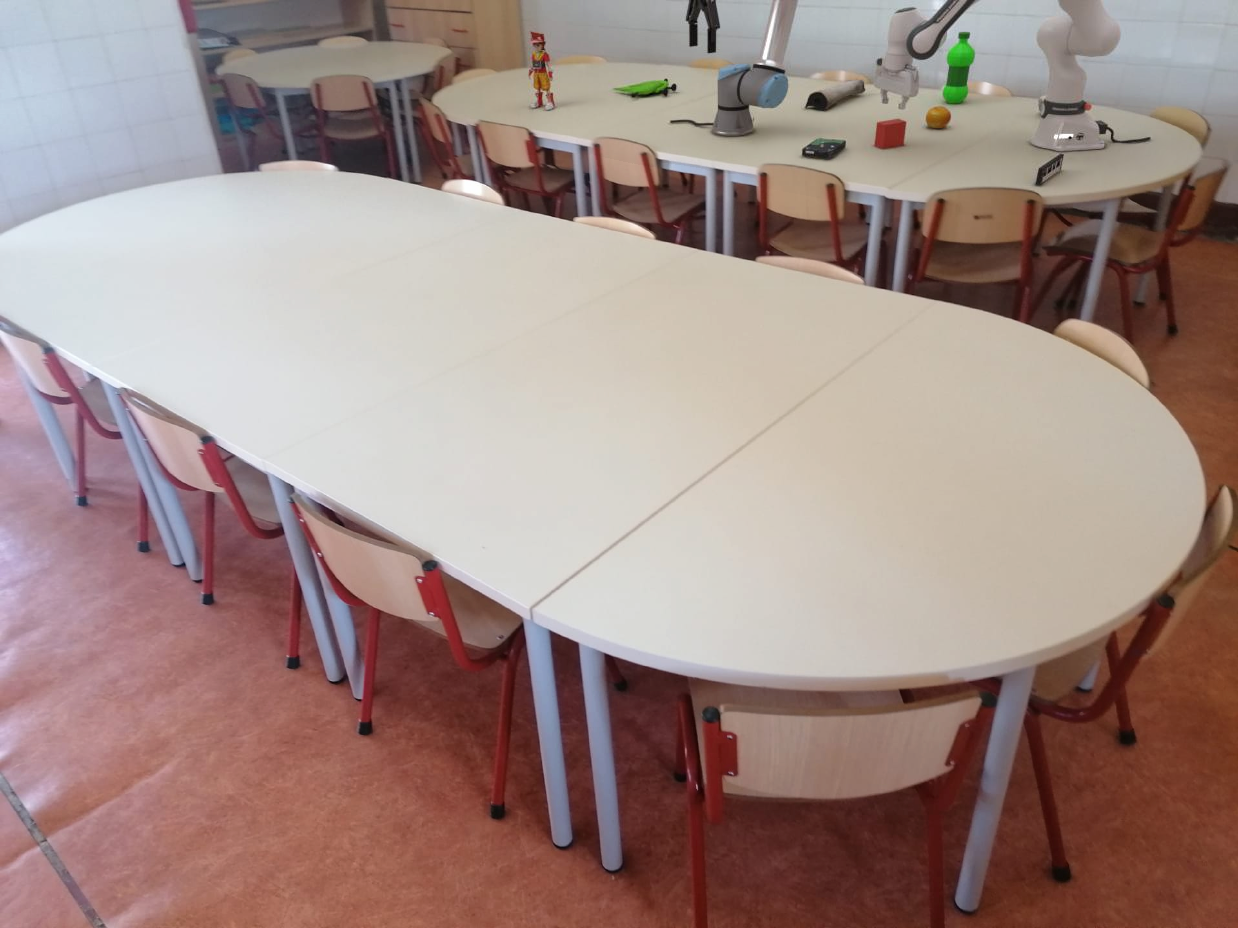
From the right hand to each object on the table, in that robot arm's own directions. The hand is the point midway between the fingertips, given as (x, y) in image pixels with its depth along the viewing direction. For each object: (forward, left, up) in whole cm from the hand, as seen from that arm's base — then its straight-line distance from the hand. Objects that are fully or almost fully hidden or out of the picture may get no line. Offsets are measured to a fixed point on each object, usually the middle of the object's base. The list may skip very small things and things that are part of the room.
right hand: (893, 106), depth 304 cm
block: (0, -1, -13) cm, 13 cm away
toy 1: (+138, -63, -13) cm, 152 cm away
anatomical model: (-62, -35, -13) cm, 72 cm away
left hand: (+64, +13, +22) cm, 69 cm away
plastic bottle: (-31, -60, -13) cm, 69 cm away
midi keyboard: (-44, +36, -13) cm, 59 cm away
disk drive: (+22, +8, -13) cm, 27 cm away
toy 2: (+99, -88, -13) cm, 133 cm away
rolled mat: (+15, -64, -13) cm, 67 cm away
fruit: (-19, -23, -13) cm, 33 cm away
